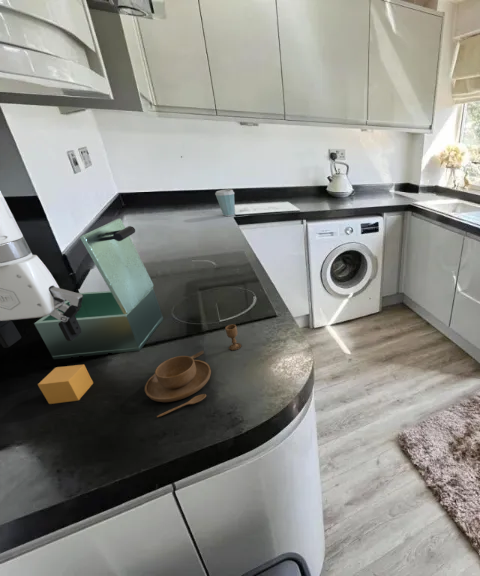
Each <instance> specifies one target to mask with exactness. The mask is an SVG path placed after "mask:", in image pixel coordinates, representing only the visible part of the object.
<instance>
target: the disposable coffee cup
mask: <svg viewBox="0 0 480 576" xmlns="http://www.w3.org/2000/svg"><path fill="white" fill-rule="evenodd" d="M214 195H215V197H216V200H217V202H218V205H219V208H220V211H221V213H222V215H223V216H224V217H232V216H235V215H236V207H235V206H236V205H235V204H236V203H235V191H234V189H231V188H225V189H220V190H217V191H215V193H214Z"/></svg>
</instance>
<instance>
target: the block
mask: <svg viewBox="0 0 480 576" xmlns="http://www.w3.org/2000/svg"><path fill="white" fill-rule="evenodd" d="M93 384H94V381H93V379H92V377H91V375H90V373H89V371H88V370H87V367H86V365H85V364H75V365H74V364H73V365H67V366H57V367H54V368H53V369H52V370H51V371H50V372H49V373H48V374H47V375H46V376H44V378H42V380H40V382H39V383H37V386H38V388H39V390H40V391H41V393H42V395H43V396H44V399H46V401H47V403H48V404H49V405H52V404H53V405H54V404H61V403H69V402H77V401H80V400H81V398H82V397H83V396H84V395H85V394H86V393H87V392H88V390H89V389H90V388H91V387H92V386H93Z"/></svg>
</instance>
